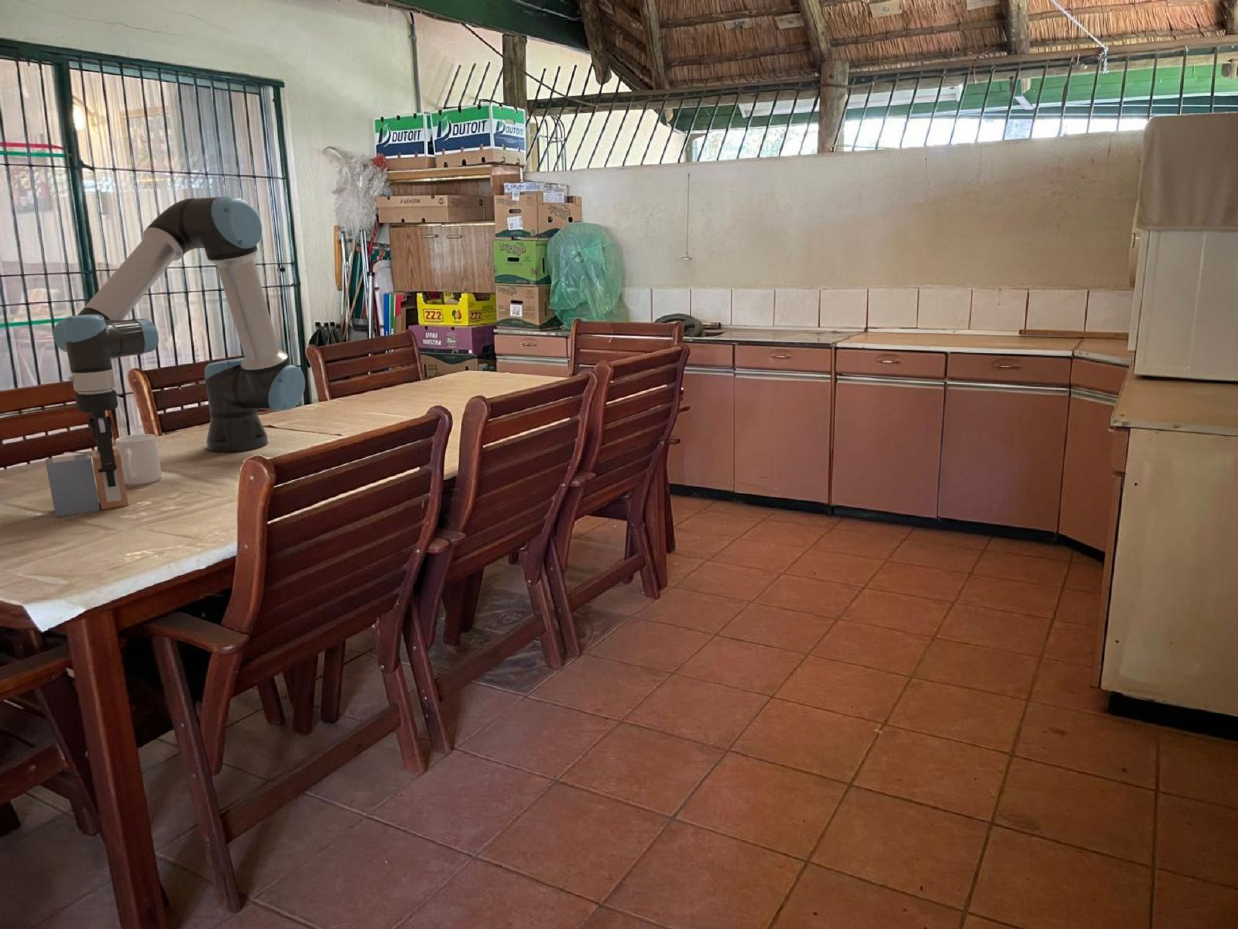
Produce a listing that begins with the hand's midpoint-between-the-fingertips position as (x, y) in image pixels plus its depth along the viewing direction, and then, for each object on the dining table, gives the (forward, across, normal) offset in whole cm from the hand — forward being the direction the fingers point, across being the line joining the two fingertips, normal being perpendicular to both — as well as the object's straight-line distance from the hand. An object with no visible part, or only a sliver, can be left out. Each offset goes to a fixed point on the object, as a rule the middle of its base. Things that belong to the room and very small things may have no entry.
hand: (112, 495), depth 196 cm
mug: (+2, -16, +6) cm, 17 cm away
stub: (+2, 0, 0) cm, 2 cm away
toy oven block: (+2, 0, -7) cm, 7 cm away
